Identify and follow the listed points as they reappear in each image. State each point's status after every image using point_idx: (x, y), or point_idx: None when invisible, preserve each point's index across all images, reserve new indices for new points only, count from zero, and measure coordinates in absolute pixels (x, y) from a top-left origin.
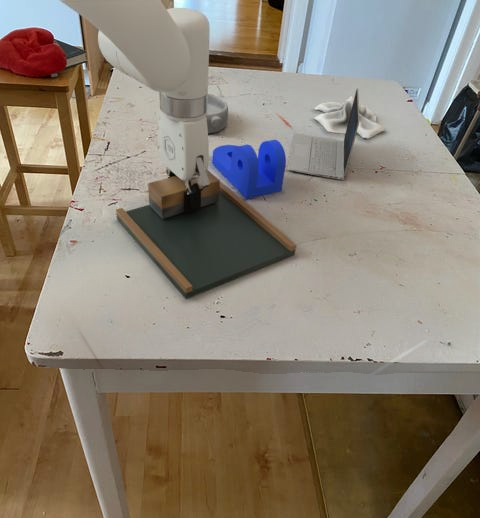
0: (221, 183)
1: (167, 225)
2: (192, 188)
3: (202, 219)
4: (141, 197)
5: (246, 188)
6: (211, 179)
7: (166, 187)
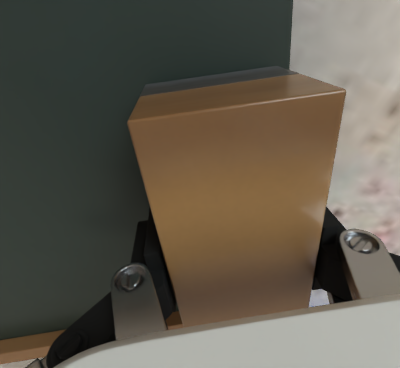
0: None
1: (101, 90)
2: (109, 315)
3: (114, 224)
4: (378, 68)
5: None
6: None
7: (232, 189)
